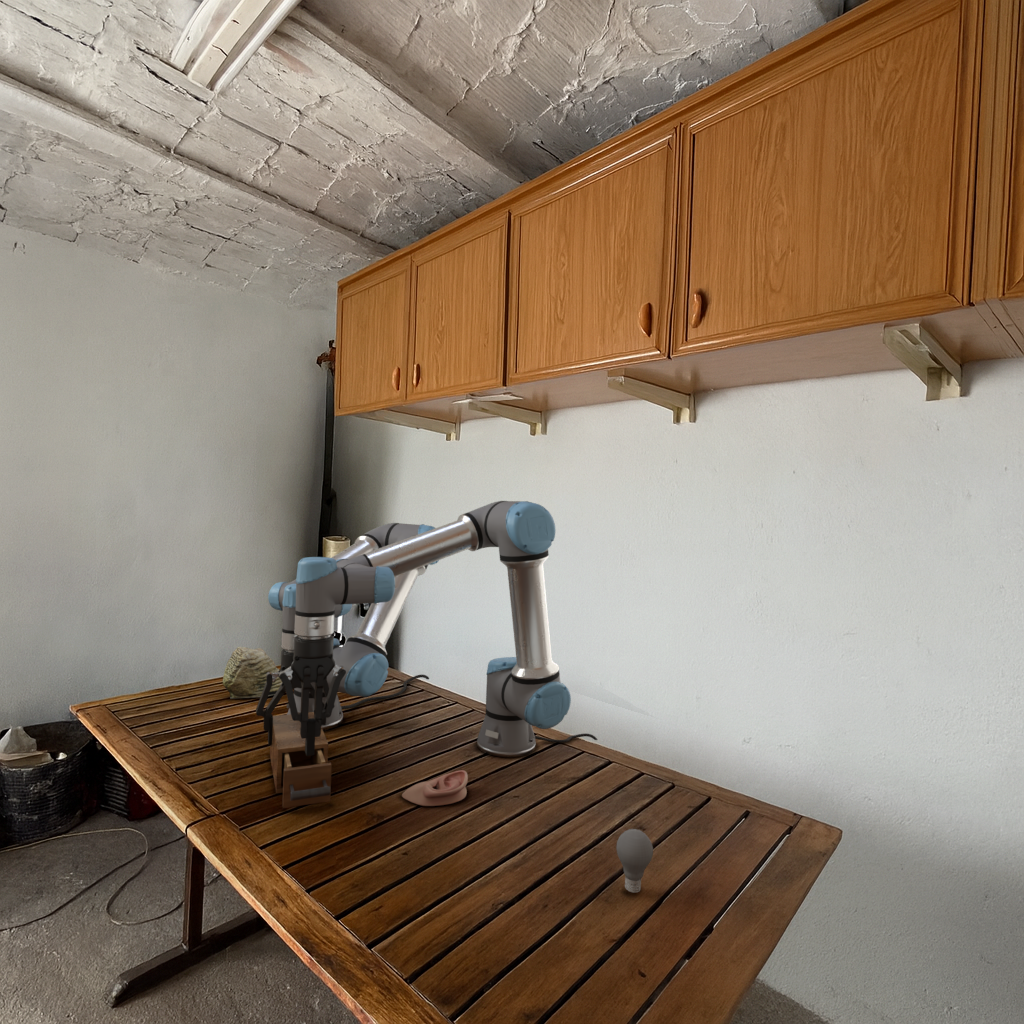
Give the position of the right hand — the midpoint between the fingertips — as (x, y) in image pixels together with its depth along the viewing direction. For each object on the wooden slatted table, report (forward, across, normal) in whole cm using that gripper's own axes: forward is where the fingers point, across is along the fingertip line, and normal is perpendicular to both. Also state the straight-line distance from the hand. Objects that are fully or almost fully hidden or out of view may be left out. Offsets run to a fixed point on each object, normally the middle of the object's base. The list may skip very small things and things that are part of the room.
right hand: (309, 752), depth 126 cm
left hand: (+8, 0, +28) cm, 29 cm away
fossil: (+12, -7, +82) cm, 83 cm away
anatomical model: (+12, +26, -1) cm, 29 cm away
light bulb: (+12, +47, -44) cm, 66 cm away
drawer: (+11, 0, +9) cm, 14 cm away
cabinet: (+12, 0, +22) cm, 25 cm away
